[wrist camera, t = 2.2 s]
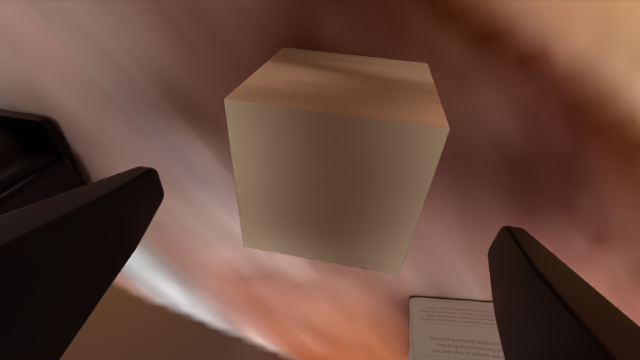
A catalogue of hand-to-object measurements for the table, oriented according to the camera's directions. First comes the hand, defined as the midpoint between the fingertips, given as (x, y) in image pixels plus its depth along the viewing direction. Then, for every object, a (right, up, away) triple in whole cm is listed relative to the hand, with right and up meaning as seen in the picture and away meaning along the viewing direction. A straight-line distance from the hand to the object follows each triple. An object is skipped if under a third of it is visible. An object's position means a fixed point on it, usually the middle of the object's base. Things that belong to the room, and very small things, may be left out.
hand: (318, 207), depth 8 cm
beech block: (+1, +3, +4) cm, 5 cm away
